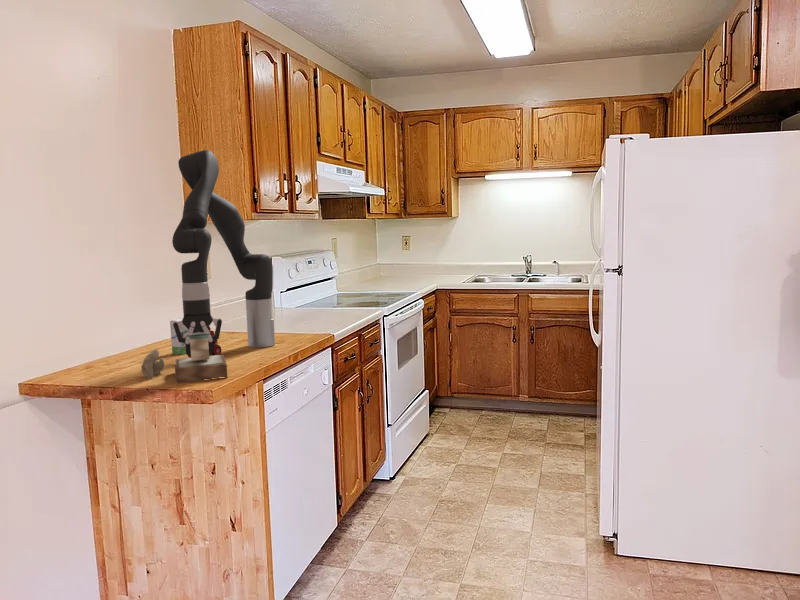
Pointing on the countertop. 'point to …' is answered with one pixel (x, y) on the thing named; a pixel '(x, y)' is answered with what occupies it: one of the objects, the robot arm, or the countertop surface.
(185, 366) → the base slab
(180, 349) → the ink box
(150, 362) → the bone
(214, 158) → the robot arm
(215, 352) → the toy fire truck
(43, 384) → the countertop surface
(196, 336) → the maple block
